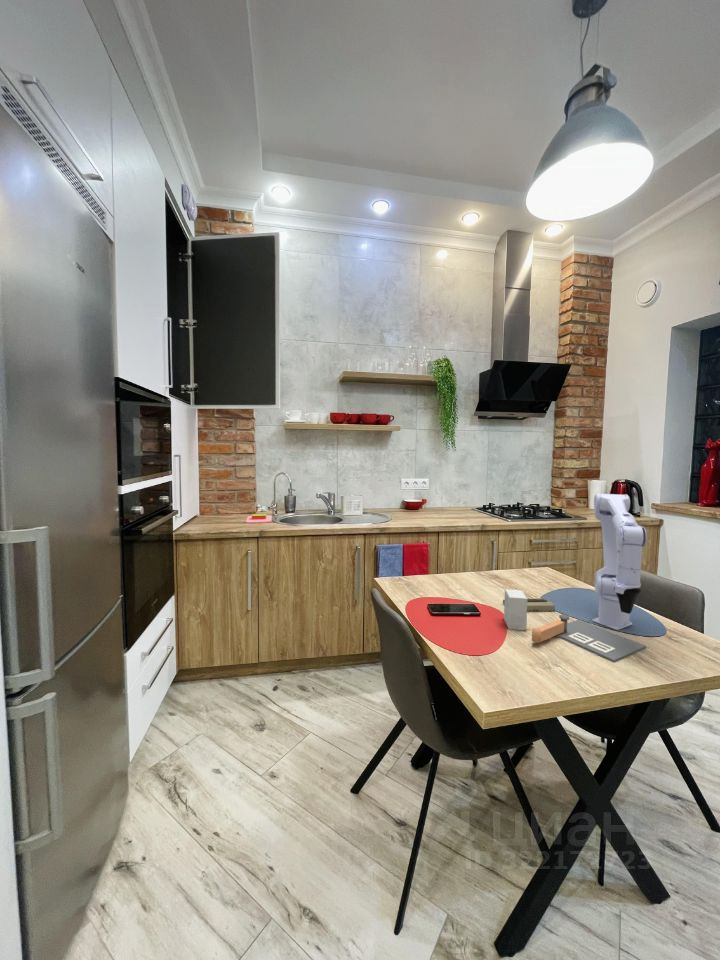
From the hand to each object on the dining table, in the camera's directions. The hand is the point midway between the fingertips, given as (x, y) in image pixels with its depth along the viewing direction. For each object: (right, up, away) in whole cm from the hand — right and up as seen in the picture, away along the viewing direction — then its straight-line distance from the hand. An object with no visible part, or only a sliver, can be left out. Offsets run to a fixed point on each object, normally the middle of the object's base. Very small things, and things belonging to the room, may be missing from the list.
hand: (625, 612), depth 111 cm
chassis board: (-7, -10, +4) cm, 12 cm away
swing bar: (-22, -8, +3) cm, 23 cm away
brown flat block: (-17, -9, +28) cm, 33 cm away
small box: (-27, -9, +13) cm, 32 cm away
